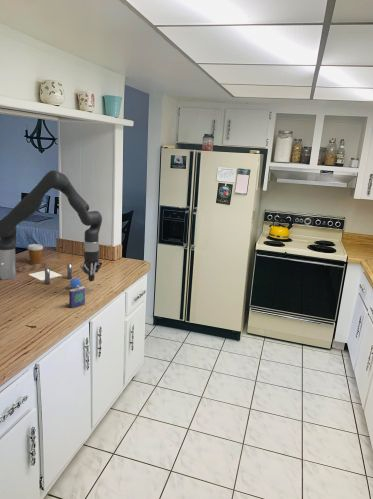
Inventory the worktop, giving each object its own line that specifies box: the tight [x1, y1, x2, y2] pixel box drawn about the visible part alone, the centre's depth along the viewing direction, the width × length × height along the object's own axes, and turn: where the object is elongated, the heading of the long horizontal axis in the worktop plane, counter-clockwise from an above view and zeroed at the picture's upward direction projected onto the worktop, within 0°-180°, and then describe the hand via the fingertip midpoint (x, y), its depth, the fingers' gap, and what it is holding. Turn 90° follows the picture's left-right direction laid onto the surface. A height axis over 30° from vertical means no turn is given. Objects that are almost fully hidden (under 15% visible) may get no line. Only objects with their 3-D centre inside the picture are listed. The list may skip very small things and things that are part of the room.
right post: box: [66, 263, 73, 280], centre depth 228 cm, size 3×3×9 cm
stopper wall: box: [17, 262, 48, 273], centre depth 240 cm, size 18×2×2 cm, turn 141°
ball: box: [69, 277, 82, 289], centre depth 214 cm, size 6×6×6 cm
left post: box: [44, 267, 51, 286], centre depth 217 cm, size 3×3×9 cm
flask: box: [68, 285, 86, 309], centre depth 191 cm, size 9×3×11 cm, turn 144°
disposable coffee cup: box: [27, 243, 44, 265], centre depth 251 cm, size 10×10×12 cm
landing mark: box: [28, 270, 63, 281], centre depth 232 cm, size 14×14×1 cm
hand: (91, 280), depth 206 cm, fingers closed
